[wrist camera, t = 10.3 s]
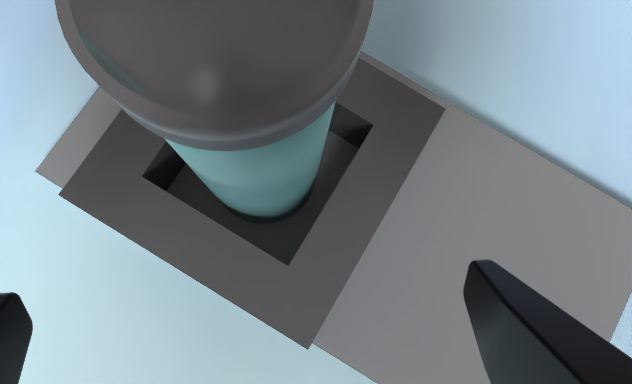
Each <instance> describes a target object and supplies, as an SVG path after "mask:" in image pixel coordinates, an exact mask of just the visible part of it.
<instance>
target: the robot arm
mask: <svg viewBox="0 0 632 384" xmlns="http://www.w3.org/2000/svg"><path fill="white" fill-rule="evenodd" d="M463 296H464V301H465V305H466V308H467V311H468V315H469V318H470V322H471V325H472V328H473V332H474V335H475V338H476V342H477V345H478V349H479V352H480V355H481V359H482V362H483V365H484V368H485V370H486V373H487V375H488V378H489V380H490V383H491V384H632V358H631V357H629V356H628V355H627V354H625V353H624V352H622V351H621V350H619V349H618V348H617V347H615V346H614V345H612V344H611V343H609V342H608V341H607V340H605V339H604V338H602V337H601V336H600V335H598V334H597V333H595V332H594V331H592V330H591V329H590V328H588V327H587V326H585V325H584V324H582V323H581V322H580V321H578V320H577V319H575V318H574V317H573V316H571V315H570V314H568V313H567V312H565V311H564V310H563V309H561V308H560V307H558V306H557V305H555V304H554V303H553V302H551V301H550V300H548V299H547V298H546V297H544V296H543V295H541V294H540V293H538V292H537V291H536V290H534V289H533V288H531V287H530V286H528V285H527V284H526V283H524V282H523V281H521V280H520V279H519V278H517V277H516V276H514V275H513V274H511V273H510V272H509V271H507V270H506V269H504V268H503V267H501V266H500V265H499V264H497V263H496V262H494V261H493V260H490V259H484V260H473V261H471V262H470V264H469V267H468V271H467V275H466V279H465V284H464V288H463ZM32 331H33V324H32V320H31V318H30V316H29V314H28V312H27V310H26V308H25V306H24V304H23V302H22V300H21V298H20V296H19V295H18V294H16V293H13V292H10V293H0V384H18V383H19V379H20V376H21V372H22V368H23V365H24V361H25V357H26V354H27V350H28V346H29V343H30V339H31V336H32Z"/></svg>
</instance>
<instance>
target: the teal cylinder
mask: <svg viewBox="0 0 632 384" xmlns="http://www.w3.org/2000/svg"><path fill="white" fill-rule="evenodd" d="M55 4H56V10H57V15H58V20H59V23H60V25H61V28H62V31H63V34H64V37H65V39H66V41H67V43H68V45H69V47H70V49H71V50H72V52H73V54H74V56H75V57H76V59H77V60H78V61H79V63H80V64H81V65H82V67H83V68H84V70H85V71H86V72H87V73H88V74H89V75H90V76H91V77H92V78H93V79H94V80H95V81H96V82H97V83H98V85H99V86H100V87H101V88H102V89H103V90H104V91H105V92H106V93H107V94H108V95H109V96H110V97H111V98H112V99H113V100H114V101H115V102H116V103H117V104H118V105H119V106H120V107H121V108H122V109H123V110H124V111H125V112H126V113H127V114H128V115H129V116H130V117H131V118H133V119H134V120H135V121H137V122H138V123H139V124H140V125H142V126H143V127H145V128H146V129H148V130H150V131H151V132H153V133H155V134H157V135H158V136H160V137H163V138H164V139H165V140H166V141H167V142H168V143H169V144H170V145H171V146H172V148H173V149H174V150H175V151H176V152H177V153H178V154H179V155H180V157H181V158H182V159H183V160H184V161H185V162H186V163H187V164H188V166H189V167H190V168H191V169H192V170H193V171H194V172H195V173H196V175H197V176H198V177H199V178H200V179H201V180H202V181H203V182H204V184H205V185H206V186H207V187H208V188H209V189H210V190H211V191H212V193H213V194H214V195H215V196H216V197H217V198H218V199H219V200H220V202H221V203H222V204H223V205H224V206H225V207H226V208H227V209H228V210H229V211H230V212H232V213H233V214H234V215H236V216H238V217H239V218H241V219H244V220H246V221H250V222H254V223H274V222H278V221H281V220H284V219H286V218H288V217H290V216H292V215H293V214H295V213H296V212H297V211H299V210H300V209H301V208H302V207H303V206H304V204H305V203H306V202H307V200H308V199H309V197H310V195H311V193H312V191H313V188H314V185H315V181H316V177H317V173H318V169H319V165H320V161H321V157H322V153H323V149H324V145H325V141H326V137H327V133H328V129H329V126H330V122H331V118H332V114H333V110H334V106H335V102H336V99H337V98H338V97H339V96H340V94H341V93H342V91H343V90H344V88H345V86H346V85H347V83H348V81H349V80H350V78H351V75H352V73H353V71H354V68H355V66H356V63H357V60H358V57H359V54H360V50H361V47H362V44H363V41H364V37H365V34H366V31H367V27H368V24H369V20H370V16H371V13H372V8H373V0H55Z"/></svg>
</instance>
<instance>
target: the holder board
mask: <svg viewBox="0 0 632 384" xmlns="http://www.w3.org/2000/svg"><path fill="white" fill-rule="evenodd" d="M35 172H37V173H38V174H40V175H42V176H43V177H45V178H46V179H48V180H50V181H51V182H53V183H54V184H56V185H58V186H59V187H61V188H63V189H62V190H61V192H60V193H59V194H58V195H59V196H61V197H63V198H64V199H66V200H67V201H69V202H71V203H72V204H74V205H75V206H77V207H79V208H80V209H82V210H83V211H85V212H87V213H88V214H90V215H92V216H93V217H95V218H96V219H98V220H100V221H101V222H103V223H104V224H106V225H108V226H109V227H111V228H113V229H114V230H116V231H117V232H119V233H121V234H122V235H124V236H125V237H127V238H129V239H130V240H132V241H133V242H135V243H137V244H138V245H140V246H142V247H143V248H145V249H146V250H148V251H150V252H151V253H153V254H154V255H156V256H158V257H159V258H161V259H163V260H164V261H166V262H167V263H169V264H171V265H172V266H174V267H175V268H177V269H179V270H180V271H182V272H183V273H185V274H187V275H188V276H190V277H192V278H193V279H195V280H196V281H198V282H200V283H201V284H203V285H204V286H206V287H208V288H209V289H211V290H213V291H214V292H216V293H217V294H219V295H221V296H222V297H224V298H225V299H227V300H229V301H230V302H232V303H233V304H235V305H237V306H238V307H240V308H242V309H243V310H245V311H246V312H248V313H250V314H251V315H253V316H254V317H256V318H258V319H259V320H261V321H263V322H264V323H266V324H267V325H269V326H271V327H272V328H274V329H275V330H277V331H279V332H280V333H282V334H283V335H285V336H287V337H288V338H290V339H292V340H293V341H295V342H296V343H298V344H300V345H301V346H303V347H304V348H306V349H309V347H310V345H311V344H312V343H313V344H315V345H316V346H318V347H319V348H321V349H323V350H324V351H326V352H327V353H329V354H331V355H332V356H334V357H336V358H337V359H339V360H340V361H342V362H344V363H345V364H347V365H348V366H350V367H352V368H353V369H355V370H357V371H358V372H360V373H361V374H363V375H365V376H366V377H368V378H369V379H371V380H373V381H374V382H376V383H378V384H491V383H490V380H489V378H488V375H487V373H486V370H485V368H484V365H483V362H482V359H481V355H480V352H479V349H478V345H477V342H476V338H475V335H474V332H473V328H472V325H471V322H470V318H469V315H468V311H467V308H466V305H465V301H464V296H463V288H464V284H465V279H466V275H467V271H468V267H469V264H470V262H471V261H473V260H484V259H490V260H493V261H494V262H496V263H497V264H499V265H500V266H501V267H503V268H504V269H506V270H507V271H509V272H510V273H511V274H513V275H514V276H516V277H517V278H519V279H520V280H521V281H523V282H524V283H526V284H527V285H528V286H530V287H531V288H533V289H534V290H536V291H537V292H538V293H540V294H541V295H543V296H544V297H546V298H547V299H548V300H550V301H551V302H553V303H554V304H555V305H557V306H558V307H560V308H561V309H563V310H564V311H565V312H567V313H568V314H570V315H571V316H573V317H574V318H575V319H577V320H578V321H580V322H581V323H582V324H584V325H585V326H587V327H588V328H590V329H591V330H592V331H594V332H595V333H597V334H598V335H600V336H601V337H602V338H604V339H605V340H607V341H608V342H610V340H611V338H612V335H613V333H614V331H615V329H616V326H617V324H618V322H619V319H620V317H621V315H622V312H623V310H624V308H625V306H626V303H627V301H628V299H629V296H630V294H631V292H632V209H631V208H629V207H627V206H626V205H624V204H622V203H621V202H619V201H617V200H615V199H614V198H612V197H610V196H609V195H607V194H605V193H603V192H602V191H600V190H598V189H597V188H595V187H593V186H591V185H590V184H588V183H586V182H585V181H583V180H581V179H579V178H578V177H576V176H574V175H573V174H571V173H569V172H567V171H566V170H564V169H562V168H561V167H559V166H557V165H555V164H554V163H552V162H550V161H549V160H547V159H545V158H543V157H542V156H540V155H538V154H537V153H535V152H533V151H531V150H530V149H528V148H526V147H525V146H523V145H521V144H519V143H518V142H516V141H514V140H513V139H511V138H509V137H507V136H506V135H504V134H502V133H501V132H499V131H497V130H495V129H494V128H492V127H490V126H489V125H487V124H485V123H483V122H482V121H480V120H478V119H477V118H475V117H473V116H471V115H470V114H468V113H466V112H465V111H463V110H461V109H459V108H458V107H456V106H454V105H452V104H451V103H449V102H447V101H446V100H444V99H442V98H440V97H439V96H437V95H435V94H434V93H432V92H430V91H428V90H427V89H425V88H423V87H422V86H420V85H418V84H416V83H415V82H413V81H411V80H410V79H408V78H406V77H404V76H403V75H401V74H399V73H398V72H396V71H394V70H392V69H391V68H389V67H387V66H386V65H384V64H382V63H380V62H379V61H377V60H375V59H374V58H372V57H370V56H368V55H367V54H365V53H363V52H362V51H360V54H359V57H358V60H357V63H356V66H355V68H354V71H353V73H352V75H351V78H350V80H349V81H348V83H347V85H346V86H345V88H344V90H343V91H342V93H341V94H340V96H339V97H338V98H337V99H336V102H335V106H334V110H333V114H332V118H331V122H330V126H329V129H328V133H327V137H326V141H325V145H324V149H323V153H322V157H321V161H320V165H319V169H318V173H317V177H316V181H315V185H314V188H313V191H312V193H311V195H310V197H309V199H308V200H307V202H306V203H305V204H304V206H303V207H302V208H301V209H300V210H299V211H297V212H296V213H295V214H293V215H292V216H290V217H288V218H286V219H284V220H281V221H278V222H274V223H254V222H250V221H246V220H244V219H241V218H239V217H238V216H236V215H234V214H233V213H232V212H230V211H229V210H228V209H227V208H226V207H225V206H224V205H223V204H222V203H221V202H220V200H219V199H218V198H217V197H216V196H215V195H214V194H213V193H212V191H211V190H210V189H209V188H208V187H207V186H206V185H205V184H204V182H203V181H202V180H201V179H200V178H199V177H198V176H197V175H196V173H195V172H194V171H193V170H192V169H191V168H190V167H189V166H188V164H187V163H186V162H185V161H184V160H183V159H182V158H181V157H180V155H179V154H178V153H177V152H176V151H175V150H174V149H173V148H172V146H171V145H170V144H169V143H168V142H167V141H166V140H165V139H164V138H163V137H160V136H158V135H157V134H155V133H153V132H151V131H150V130H148V129H146V128H145V127H143V126H142V125H140V124H139V123H138V122H137V121H135V120H134V119H133V118H131V117H130V116H129V115H128V114H127V113H126V112H125V111H124V110H123V109H122V108H121V107H120V106H119V105H118V104H117V103H116V102H115V101H114V100H113V99H112V98H111V97H110V96H109V95H108V94H107V93H106V92H105V91H104V90H103V89H102V88H101V87H99V88H98V89H97V91H96V92H95V93H94V94H93V96H92V97H91V98H90V100H89V101H88V102H87V104H86V105H85V106H84V108H83V109H82V110H81V112H80V113H79V114H78V116H77V117H76V118H75V119H74V121H73V122H72V123H71V125H70V126H69V127H68V129H67V130H66V131H65V133H64V134H63V135H62V137H61V138H60V139H59V141H58V142H57V143H56V144H55V146H54V147H53V148H52V150H51V151H50V152H49V154H48V155H47V156H46V158H45V159H44V160H43V162H42V163H41V164H40V166H39V167H38V168H37V169H36V171H35Z"/></svg>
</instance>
